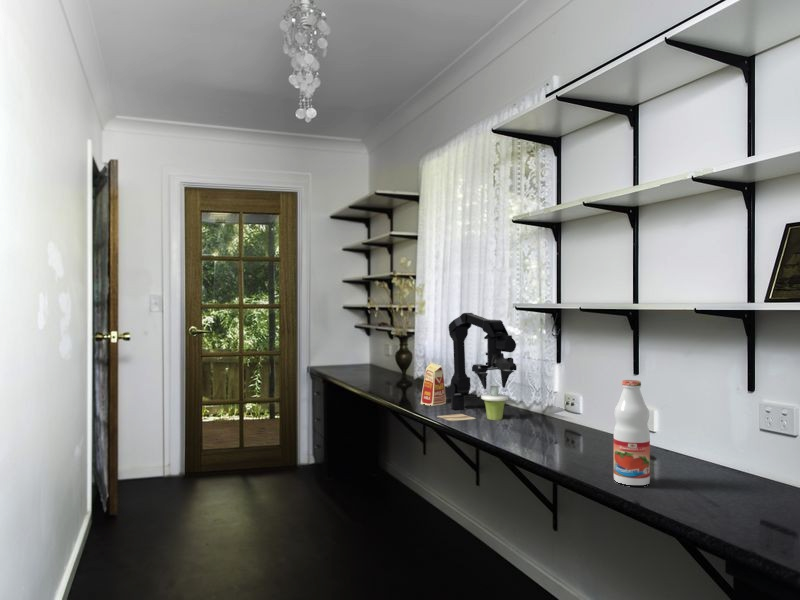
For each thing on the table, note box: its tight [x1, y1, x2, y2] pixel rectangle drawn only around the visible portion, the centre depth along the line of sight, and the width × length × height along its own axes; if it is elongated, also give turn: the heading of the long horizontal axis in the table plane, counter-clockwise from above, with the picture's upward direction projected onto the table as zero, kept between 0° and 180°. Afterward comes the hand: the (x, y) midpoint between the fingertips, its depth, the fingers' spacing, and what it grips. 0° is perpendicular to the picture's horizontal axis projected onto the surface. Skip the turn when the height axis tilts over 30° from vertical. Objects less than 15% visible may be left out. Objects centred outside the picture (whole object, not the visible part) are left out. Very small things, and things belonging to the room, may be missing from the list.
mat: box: [436, 413, 477, 422], centre depth 264 cm, size 12×12×1 cm
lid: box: [480, 385, 509, 402], centre depth 261 cm, size 11×11×5 cm
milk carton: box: [420, 361, 447, 407], centre depth 299 cm, size 9×9×20 cm
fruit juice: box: [613, 379, 651, 485], centre depth 174 cm, size 9×9×28 cm
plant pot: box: [483, 400, 507, 421], centre depth 261 cm, size 9×9×9 cm
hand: (494, 388), depth 261 cm, fingers open, 9 cm apart
